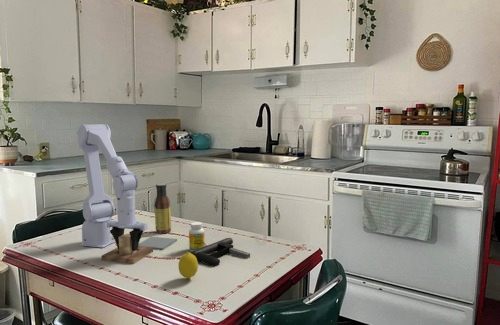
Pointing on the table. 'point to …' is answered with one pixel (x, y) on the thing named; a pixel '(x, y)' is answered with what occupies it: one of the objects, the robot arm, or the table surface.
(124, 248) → the beech block
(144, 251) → the brown wooden square frame
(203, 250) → the toy gun
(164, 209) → the sauce bottle
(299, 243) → the table surface
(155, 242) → the grey square plate
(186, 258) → the lemon
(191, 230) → the supplement bottle
